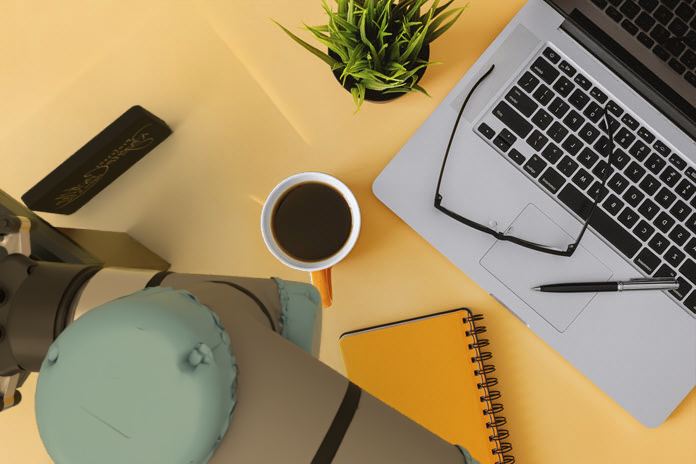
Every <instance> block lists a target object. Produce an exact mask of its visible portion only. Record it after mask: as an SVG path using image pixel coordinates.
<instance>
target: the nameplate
mask: <svg viewBox="0 0 696 464" xmlns="http://www.w3.org/2000/svg"><path fill="white" fill-rule="evenodd" d="M172 134H173V130H172V129H171V128H170V127H169V125H168V124H167V123H166V122H165V120H163V118H161V117H159V116H158V115H156V114H154V113H152V111H150V110H148V109H146V108H145V107H143V106H142V105H140V104H135V105H132V106H131V107H129V108H128V109H126V111H124V112H123V113H122V114H120V115H119V116H118V117H117V118H116V119H114V120H113V121H112V122H111V123H109V124H108V125H107V126H106V127H105V128H103V129H102V130H101V131H99V132H98V133H97V134H96V135H95V136H93V137H92V138H91V139H89V140H88V142H86V143H85V144H84V145H83V146H81V147H80V148H79V149H77V150H76V151H75V152H74V153H72V154H71V155H70V156H69V157H68V158H66V159H65V160H64V161H63V162H61V163H60V164H59V165H57V166H56V167H55V168H53V170H52V171H50V172H49V173H48V174H46V175H45V176H44V177H42V178H41V179H40V180H39V181H38V182H36V184H34V185H33V186H31V187H30V188H29V189H27V190H26V191H25V192H24V193H23V194H22V195H21V197H20V200H21V201H22V203H23V205H24V206H26V207H27V208H28V209H30V210H31V211H33V212H37V213H38V212H39V213H45V214H55V215H60V216H70V215H73V214H74V213H76V212H77V211H79V210H81V208H82V207H84V206H85V205H86V204H88V203H89V202H90V201H91V200H92V199H93V198H95V197H96V196H97V195H98V194H100V193H101V192H102V191H104V190H105V189H106V188H107V187H109V186H110V185H111V184H112V183H113V182H115V181H116V180H117V179H118V178H119V177H121V176H122V175H123V174H125V173H126V172H127V171H129V169H131V168H132V167H133V166H135V165H136V164H137V163H138V162H140V160H142V159H144V157H146V156H147V155H148V154H150V152H152V151H153V150H154V149H156V148H157V147H158V146H159V145H160V144H162V143H163V142H164V141H165V140H167V139H168V138H169V137H170V136H171V135H172Z"/></svg>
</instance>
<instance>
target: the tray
mask: <svg viewBox="0 0 696 464" xmlns="http://www.w3.org/2000/svg"><path fill="white" fill-rule="evenodd" d="M0 215H11V216H21V217H30V218H34V219H36V221H37V222H38V228H37V230H36V231H35V232H34V233H32V234H30V248H31V253H32V254H34V255H36V256H38V257H39V258H41V259H42V260H44V261H47V262H58V263H71V264H84V265H97V266H101V267H103V266H104V265H105V262H104V261H102V260H101V259H99V258H98V257H96V256H95V255H94V254H92V253H91V252H89V251H88V250H87V249H85V248H84V247H82V246H81V245H79V244H78V243H77V242H75V241H74V240H72V239H71V238H70V237H68V236H67V235H65V234H64V233H62V232H61V231H60V230H58V229H57V228H55V227H56V226H54V225H52V224H51V223H50V222H48V221H47V220H46V219H44V218H43V217H42V216H40V215H38V214H37V213H35V211H31V210H30V209H28V208H27V206H26V205H25V204H24V203H22V202H20V201H19V200H17V199H16V198H14V197H13V196H11V195H10V194H9V193H7V192H6V191H4V190H3V189H2V188H0ZM7 255H8V252H7V250H6V249H5V248H4V247H2V246H0V259H2V258H3V257H5V256H7ZM31 374H32V372H28V371H25V372H22V373H20V374H19V378H18V381H17V385H16V389H17V390H18V389H19V388H22V386H24V384H25V382H26V381H27V380H28V378H29V376H30V375H31Z"/></svg>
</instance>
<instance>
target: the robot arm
mask: <svg viewBox="0 0 696 464" xmlns="http://www.w3.org/2000/svg"><path fill="white" fill-rule="evenodd" d="M37 228H38V222H37V221H36V219H34V218H30V217H21V216H11V215H0V246H2V247H4V248H5V249H6V250H7V252H8V255H7V256H5V257H3V258H2V259H0V413H2V412H4V411H7V410H9V409H11V408H14V407H15V406H18V405H20V403H21V401H22V399H23V396H22V392H21V391H20V390H19V389H18V388H17V389H16V385H17V381H18V378H19V374H20V373H22V372H25V371H28V372H31V373H38V375H37V379H36V384H35V392H34V414H35V415H34V417H35V422H36V427H37V432H38V435H39V437H40V440H41V443H42V445H43V447H44V449H45V451H46V453H47V454H48V456H49V458H50V459H51V461H52V462H53V463H54V464H482V463H481V462H480V461H479V460H477V459H476V458H474V457H473V456H471V455H472V454H471V452H470V451H469V450H468V449H467V448H466V447H464V446H462V445H461V444H459V443H457V444H454V443H453V444H452V443H451V442H449V441H448V440H447V439H444V438H443V437H441V436H440V435H438V434H437V433H434V432H433V431H432V430H430V429H428V428H426V427H425V426H423V425H422V424H420V423H418V422H417V421H416V420H414V419H412V418H411V417H409V416H407V415H405V413H402V412H401V411H399V410H398V409H396V408H395V407H393V406H391V405H390V404H388V403H386V402H385V401H383V400H381V399H380V398H378V397H377V396H375V395H373V394H372V393H371V392H368V391H367V390H365V388H362V387H360V386H359V385H358V384H356V383H354V382H353V381H351V380H350V378H348V377H347V376H345V375H343V374H342V373H340V372H339V371H338V370H336V369H334V368H333V367H331V366H329V365H328V364H326V363H325V362H324V361H322V360H320V359H319V358H320V352H321V343H322V331H323V298H322V294H321V291H320V290H319V288H318V287H317V286H316V285H314V284H312V283H310V282H303V281H297V280H296V281H295V280H288V279H283V278H280V277H279V276H270V277H268V278H267V277H255V276H253V277H252V276H238V275H225V274H206V273H188V272H187V273H186V272H185V273H184V272H175V271H170V270H168V271H159V270H147V269H135V268H122V267H107V268H103V267H101V266H97V265H84V264H71V263H58V262H47V261H44V260H42V259H41V258H39V257H38V256H36V255H34V254H32V253H31V248H30V234H32V233H34V232H35V231H36V230H37Z"/></svg>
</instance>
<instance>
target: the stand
mask: <svg viewBox="0 0 696 464" xmlns="http://www.w3.org/2000/svg"><path fill="white" fill-rule="evenodd" d="M54 227H55V228H57V229H58V230H60V231H61V232H62V233H64V234H65V235H67V236H68V237H70V238H71V239H72V240H74V241H75V242H77V243H78V244H79V245H81V246H82V247H84V248H85V249H87V250H88V251H89V252H91V253H92V254H94V255H95V256H96V257H98V258H99V259H101V260H102V261H104V262H105V265H104V266H103V268H107V267H122V268H135V269H147V270H159V271H169V270H170V268H171V266H172V264H171V263H170V262H168V261H167V260H165V259H164V258H162V257H161V256H160V255H158V254H156V253H155V252H153V251H152V250H151V249H149V248H148V247H147V246H145V245H144V244H143V243H141V242H139V241H138V240H137V239H135V238H134V237H132V236H131V235H129V233H127V232H125V231H113V230H112V231H111V230H99V229H89V228H88V229H87V228H75V227H64V226H54Z"/></svg>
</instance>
